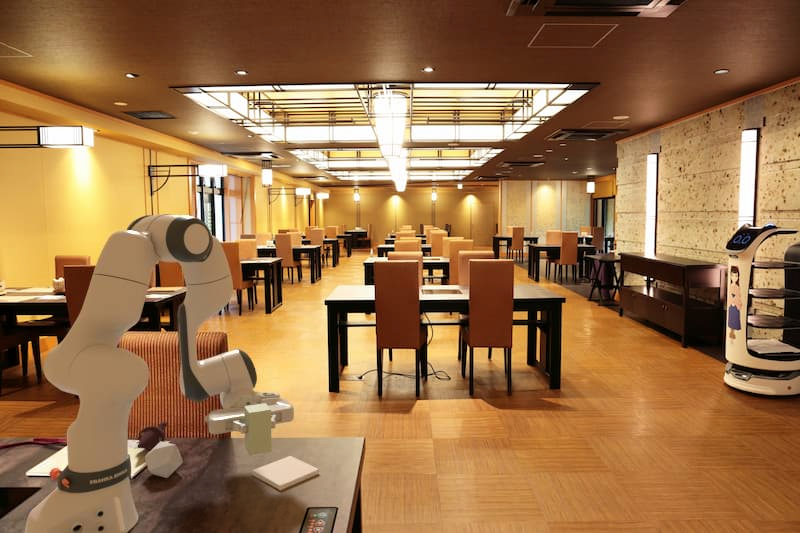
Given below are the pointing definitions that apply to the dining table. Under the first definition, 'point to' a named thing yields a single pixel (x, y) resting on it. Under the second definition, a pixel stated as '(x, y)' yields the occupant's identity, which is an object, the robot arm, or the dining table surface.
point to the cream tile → (285, 472)
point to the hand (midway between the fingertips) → (258, 427)
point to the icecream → (151, 436)
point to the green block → (258, 428)
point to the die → (163, 459)
